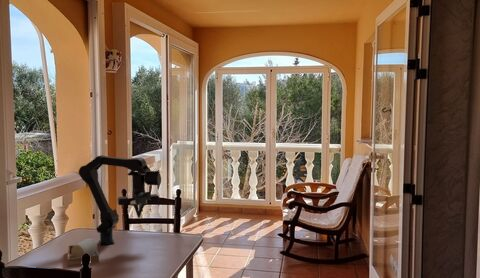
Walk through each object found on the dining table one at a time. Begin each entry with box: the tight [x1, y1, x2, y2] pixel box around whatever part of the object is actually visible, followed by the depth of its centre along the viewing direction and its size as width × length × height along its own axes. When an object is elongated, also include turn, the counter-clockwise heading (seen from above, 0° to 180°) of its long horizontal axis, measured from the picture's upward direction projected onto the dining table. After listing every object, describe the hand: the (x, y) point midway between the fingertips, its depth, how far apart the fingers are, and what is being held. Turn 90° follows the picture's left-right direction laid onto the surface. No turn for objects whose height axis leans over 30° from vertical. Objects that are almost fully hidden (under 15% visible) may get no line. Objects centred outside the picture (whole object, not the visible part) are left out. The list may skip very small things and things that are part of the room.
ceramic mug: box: [71, 238, 99, 258], centre depth 164 cm, size 11×8×8 cm
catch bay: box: [67, 244, 100, 267], centre depth 166 cm, size 17×12×3 cm
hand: (138, 217), depth 182 cm, fingers closed
